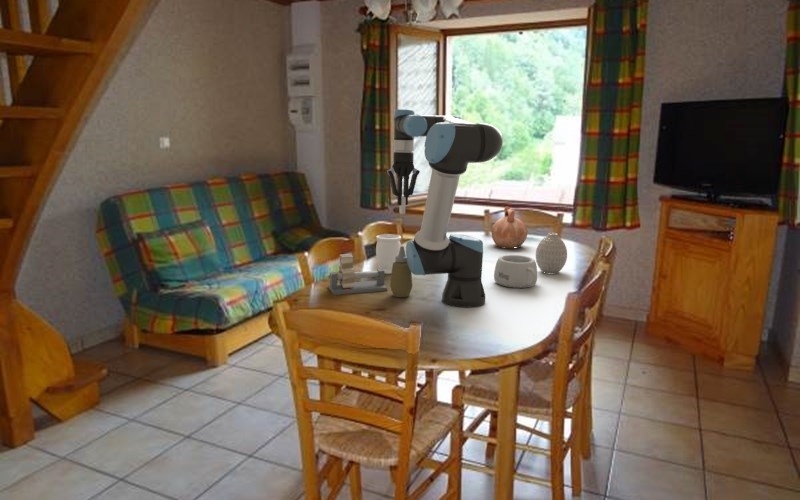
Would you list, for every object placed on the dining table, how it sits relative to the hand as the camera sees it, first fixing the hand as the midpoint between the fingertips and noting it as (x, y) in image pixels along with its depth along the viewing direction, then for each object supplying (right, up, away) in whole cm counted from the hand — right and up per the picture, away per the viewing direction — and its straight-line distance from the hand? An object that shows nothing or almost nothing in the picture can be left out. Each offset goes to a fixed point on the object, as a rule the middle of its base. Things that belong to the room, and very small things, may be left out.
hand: (402, 213), depth 218 cm
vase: (+63, -24, +22) cm, 70 cm away
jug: (+55, -13, +71) cm, 90 cm away
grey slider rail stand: (-17, -29, -8) cm, 34 cm away
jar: (-6, -23, +17) cm, 30 cm away
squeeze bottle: (0, -31, -15) cm, 34 cm away
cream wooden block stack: (-21, -27, -10) cm, 35 cm away
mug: (+45, -28, +2) cm, 53 cm away
